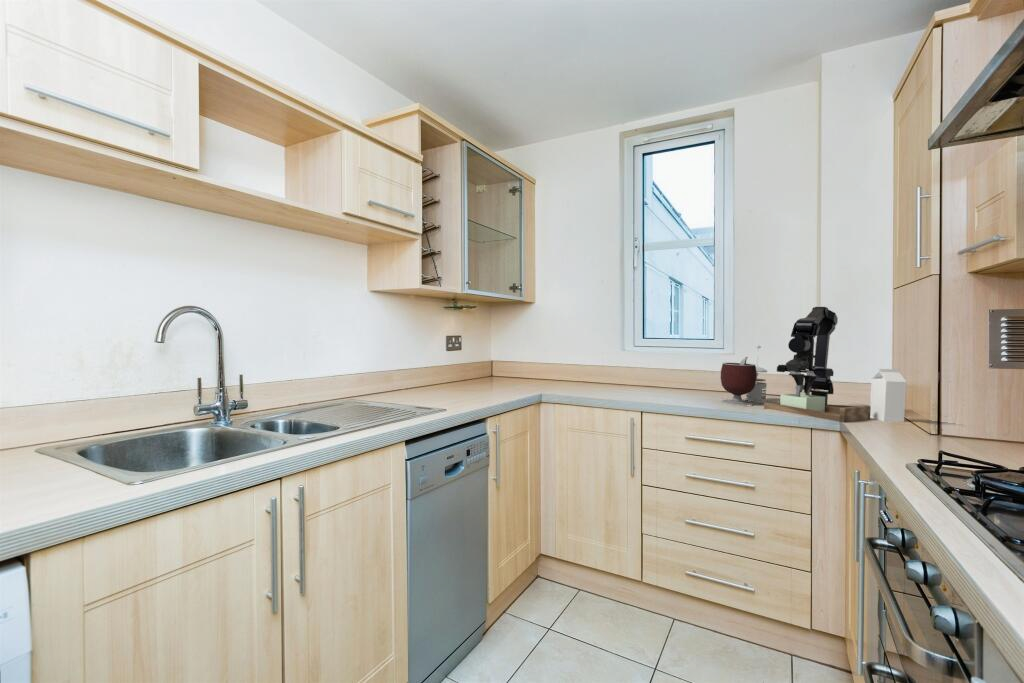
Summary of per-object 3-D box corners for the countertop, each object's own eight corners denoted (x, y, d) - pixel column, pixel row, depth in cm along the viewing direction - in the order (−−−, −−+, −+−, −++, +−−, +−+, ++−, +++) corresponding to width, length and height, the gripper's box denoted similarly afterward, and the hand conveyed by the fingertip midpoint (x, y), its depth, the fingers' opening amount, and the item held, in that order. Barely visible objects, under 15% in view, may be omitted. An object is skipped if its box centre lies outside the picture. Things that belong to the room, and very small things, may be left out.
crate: (798, 408, 191) (799, 383, 191) (824, 412, 182) (825, 386, 182) (779, 409, 186) (781, 384, 185) (805, 414, 177) (807, 387, 176)
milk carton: (904, 424, 167) (907, 370, 167) (883, 423, 168) (886, 369, 167) (888, 420, 175) (891, 368, 174) (869, 419, 175) (871, 367, 174)
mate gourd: (747, 407, 194) (750, 358, 193) (713, 402, 204) (716, 356, 203) (761, 403, 205) (763, 357, 204) (728, 399, 215) (730, 355, 214)
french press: (744, 401, 211) (747, 345, 210) (742, 397, 222) (744, 344, 221) (769, 403, 207) (772, 346, 206) (765, 399, 218) (768, 345, 217)
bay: (789, 407, 197) (790, 394, 197) (869, 421, 171) (870, 406, 170) (763, 409, 189) (764, 396, 189) (843, 424, 163) (844, 408, 163)
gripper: (768, 350, 188) (767, 390, 188) (817, 354, 171) (815, 397, 172) (786, 350, 193) (784, 389, 193) (835, 353, 176) (833, 395, 177)
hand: (802, 392), depth 184 cm, fingers closed on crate, 2 cm apart
